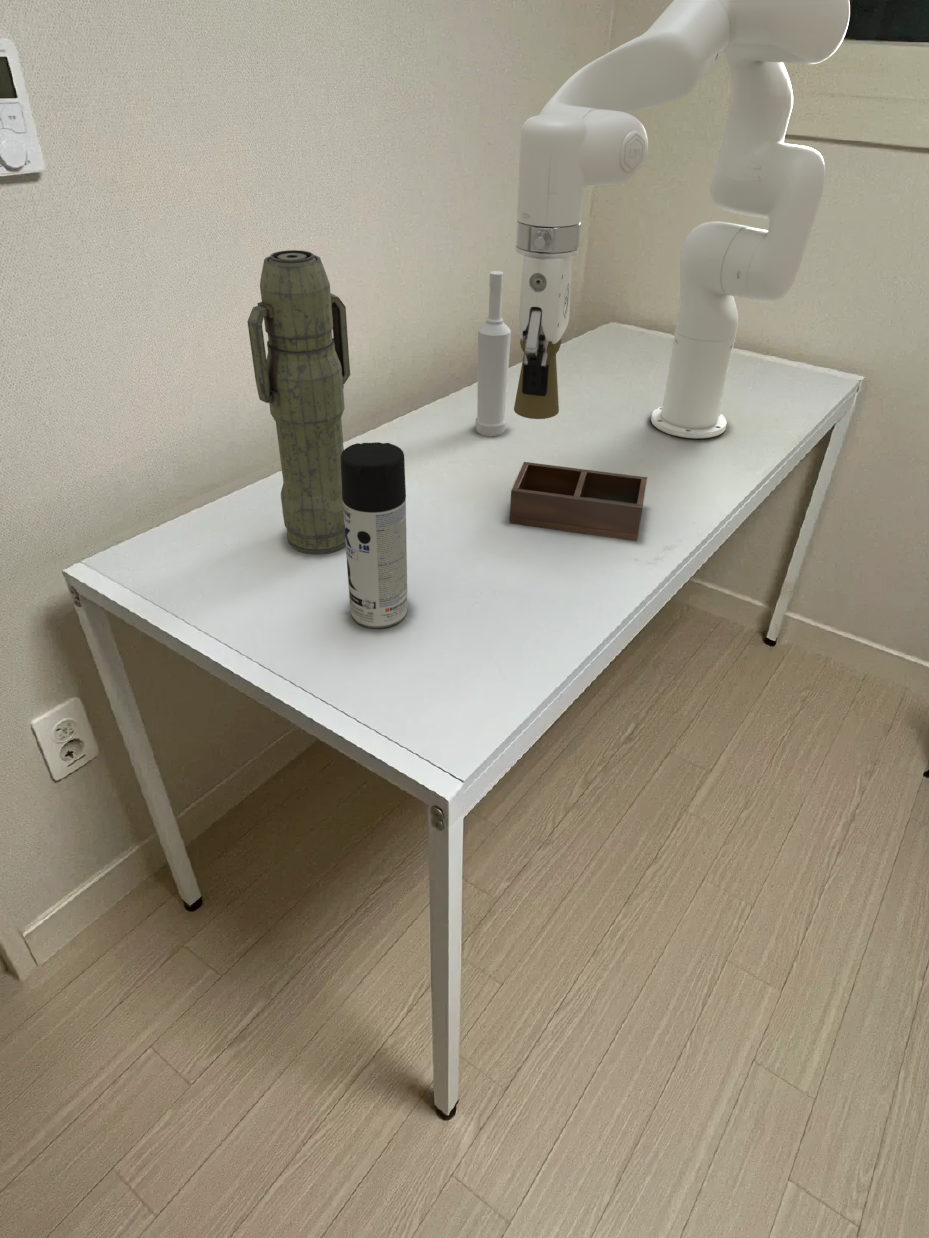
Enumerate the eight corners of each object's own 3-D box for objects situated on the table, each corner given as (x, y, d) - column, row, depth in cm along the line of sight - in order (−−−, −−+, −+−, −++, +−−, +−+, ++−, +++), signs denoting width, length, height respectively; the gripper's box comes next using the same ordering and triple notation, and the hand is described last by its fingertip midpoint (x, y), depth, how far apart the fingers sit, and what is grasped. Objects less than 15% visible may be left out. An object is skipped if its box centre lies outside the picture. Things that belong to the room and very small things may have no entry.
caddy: (521, 493, 120) (523, 461, 117) (642, 509, 117) (647, 477, 114) (509, 523, 113) (511, 490, 110) (637, 541, 110) (642, 507, 107)
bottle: (503, 438, 136) (511, 278, 121) (472, 435, 136) (476, 276, 122) (508, 425, 140) (516, 269, 125) (478, 422, 140) (482, 267, 126)
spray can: (351, 596, 98) (339, 440, 86) (408, 594, 99) (404, 439, 87) (349, 630, 93) (336, 468, 81) (410, 628, 94) (405, 467, 82)
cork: (563, 405, 112) (571, 322, 105) (552, 422, 107) (558, 337, 101) (521, 398, 114) (525, 317, 107) (507, 415, 109) (511, 331, 102)
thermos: (376, 531, 111) (361, 253, 90) (307, 566, 103) (273, 272, 83) (332, 509, 115) (308, 240, 94) (264, 541, 108) (221, 257, 87)
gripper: (567, 257, 90) (554, 415, 101) (589, 225, 103) (576, 368, 114) (500, 252, 92) (495, 408, 103) (530, 221, 105) (523, 363, 116)
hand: (538, 386), depth 108 cm, fingers closed on cork, 4 cm apart
